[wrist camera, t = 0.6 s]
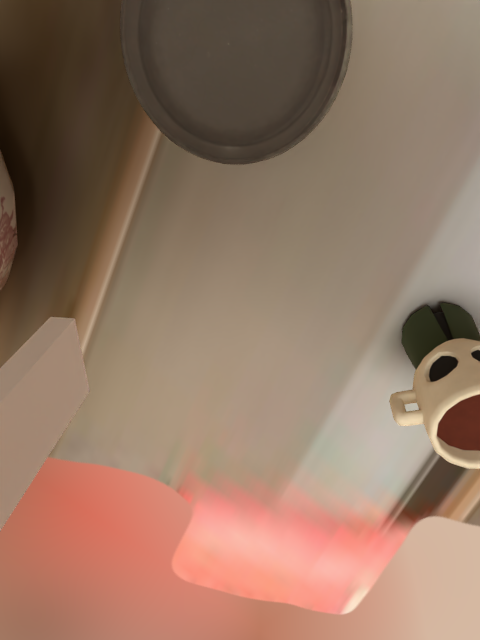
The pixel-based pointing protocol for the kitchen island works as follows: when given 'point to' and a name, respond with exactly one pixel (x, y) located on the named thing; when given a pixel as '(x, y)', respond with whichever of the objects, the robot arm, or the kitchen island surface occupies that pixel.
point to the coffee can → (236, 70)
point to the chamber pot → (6, 223)
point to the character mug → (444, 382)
